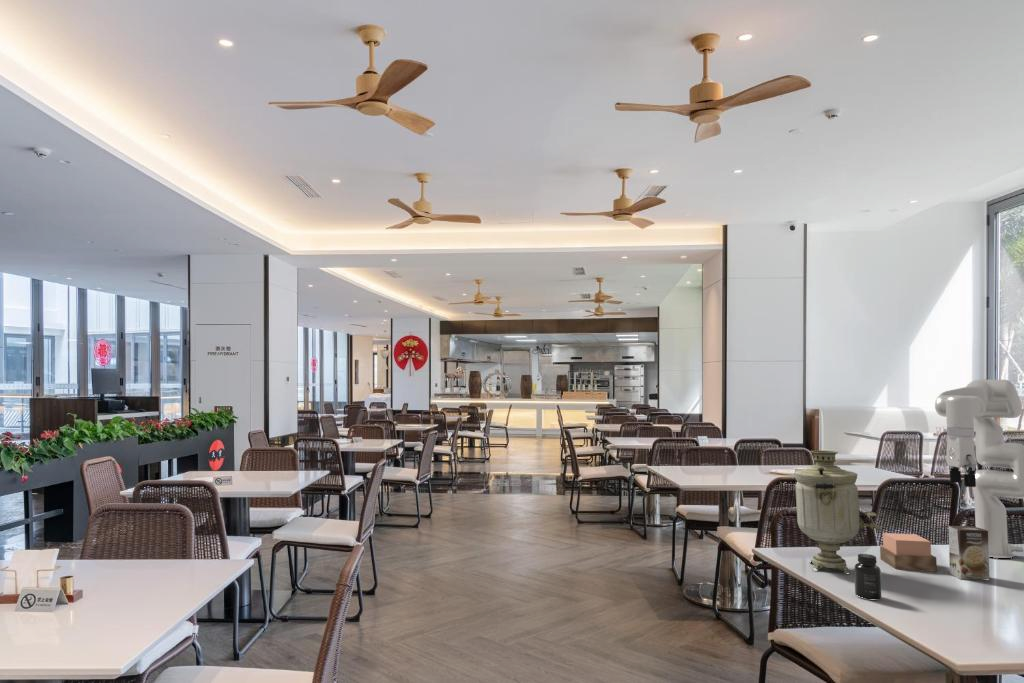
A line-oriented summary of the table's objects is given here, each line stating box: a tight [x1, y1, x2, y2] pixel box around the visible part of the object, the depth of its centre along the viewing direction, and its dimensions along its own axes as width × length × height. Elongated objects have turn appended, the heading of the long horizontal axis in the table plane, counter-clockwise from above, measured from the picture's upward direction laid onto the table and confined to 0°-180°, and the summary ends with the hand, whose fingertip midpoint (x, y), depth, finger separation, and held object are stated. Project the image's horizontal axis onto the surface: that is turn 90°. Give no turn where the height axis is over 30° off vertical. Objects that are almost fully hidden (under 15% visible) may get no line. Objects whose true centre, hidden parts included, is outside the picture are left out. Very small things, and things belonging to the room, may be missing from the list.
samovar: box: [793, 450, 883, 574], centre depth 217 cm, size 30×26×40 cm
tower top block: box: [882, 532, 932, 556], centre depth 224 cm, size 11×11×5 cm
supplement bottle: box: [853, 553, 882, 600], centre depth 189 cm, size 7×7×12 cm
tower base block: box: [879, 545, 938, 572], centre depth 224 cm, size 13×13×5 cm
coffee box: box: [948, 525, 991, 580], centre depth 210 cm, size 9×6×16 cm
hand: (962, 484), depth 212 cm, fingers open, 9 cm apart
